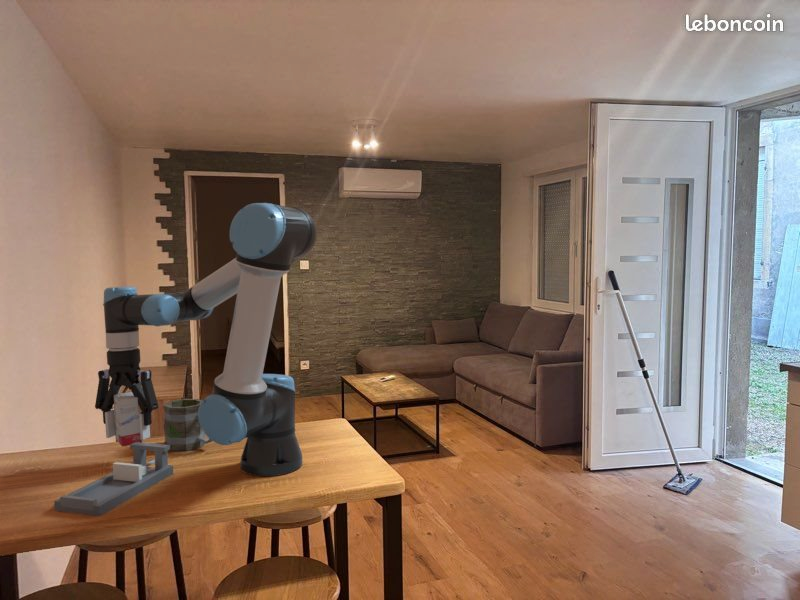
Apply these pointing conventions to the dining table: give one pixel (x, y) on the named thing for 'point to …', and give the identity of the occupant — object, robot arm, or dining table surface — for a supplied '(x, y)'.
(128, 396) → the ink box
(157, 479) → the lane
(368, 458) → the dining table surface
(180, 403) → the mug
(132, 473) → the pusher
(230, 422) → the robot arm
